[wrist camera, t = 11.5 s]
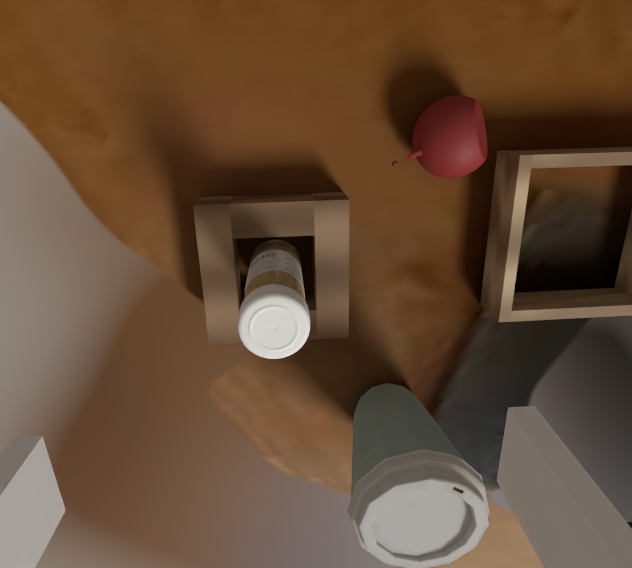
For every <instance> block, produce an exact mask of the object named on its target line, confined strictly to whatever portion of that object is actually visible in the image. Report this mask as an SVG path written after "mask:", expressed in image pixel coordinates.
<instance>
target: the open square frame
mask: <svg viewBox="0 0 632 568" xmlns="http://www.w3.org/2000/svg"><path fill="white" fill-rule="evenodd" d="M618 165H632V147H606V148H573V149H540V150H507V151H497V158H496V167H495V176H494V185H493V194H492V203H491V212H490V221H489V230H488V239H487V248H486V257H485V266H484V275H483V284H482V293H481V302H480V304H481V305H482V306H483V307H484V308H485V309H486V310H487V311H488V312H489V313H490V314H491V315H492V316H493V317H494V318H495V319H496V320H497V321H498V322H512V321H531V320H551V319H570V318H589V317H608V316H625V315H632V209H631V214H630V219H629V223H628V228H627V232H626V237H625V241H624V246H623V251H622V255H621V260H620V264H619V269H618V273H617V278H616V283H615V287H614V288H601V289H580V290H560V291H539V292H518V293H514V289H515V281H516V274H517V267H518V260H519V252H520V245H521V238H522V231H523V223H524V216H525V209H526V201H527V194H528V187H529V180H530V172H531V168H557V167H588V166H618Z"/></svg>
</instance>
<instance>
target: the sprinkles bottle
mask: <svg viewBox="0 0 632 568" xmlns="http://www.w3.org/2000/svg"><path fill="white" fill-rule="evenodd" d="M309 332H310V315H309V309H308V306H307V304H306V302H305V293H304V285H303V277H302V270H301V259H300V255H299V253H298V251H297V250H296V248H295V247H294V246H293V245H291V244H290V243H288V242H286V241H284V240H279V239H272V240H268V241H266V242H263V243H261V244H260V245H259V246H257V247H256V249H255V250H254V252H253V254H252V255H251V259H250V267H249V271H248V276H247V281H246V286H245V298H244V301H243V302H242V304H241V307H240V310H239V316H238V333H239V336H240V339H241V341H242V342H243V344H244V345H245V346H246V348H247V349H248V350H250V351H251V352H252V353H254V354H256V355H258V356H260V357H264V358H269V359H278V358H284V357H287V356H290V355H292V354H293V353H295V352H297V351H298V350H299V349H300V348H301V347H302V346H303V345H304V343H305V342H306V340H307V338H308V336H309Z"/></svg>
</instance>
